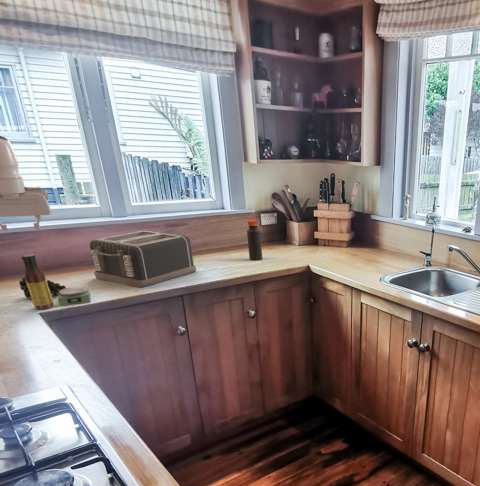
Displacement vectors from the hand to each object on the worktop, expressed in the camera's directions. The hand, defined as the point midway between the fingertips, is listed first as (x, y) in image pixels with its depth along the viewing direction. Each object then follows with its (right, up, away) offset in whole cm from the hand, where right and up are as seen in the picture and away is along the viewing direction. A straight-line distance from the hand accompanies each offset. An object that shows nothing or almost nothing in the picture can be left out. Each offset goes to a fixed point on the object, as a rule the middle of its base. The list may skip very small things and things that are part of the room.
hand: (21, 229), depth 162 cm
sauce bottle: (-1, -26, +12) cm, 29 cm away
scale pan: (+6, -19, +19) cm, 28 cm away
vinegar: (+59, +8, +88) cm, 106 cm away
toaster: (+16, -7, +53) cm, 56 cm away
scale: (+6, -22, +21) cm, 31 cm away
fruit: (-8, -20, +24) cm, 32 cm away
